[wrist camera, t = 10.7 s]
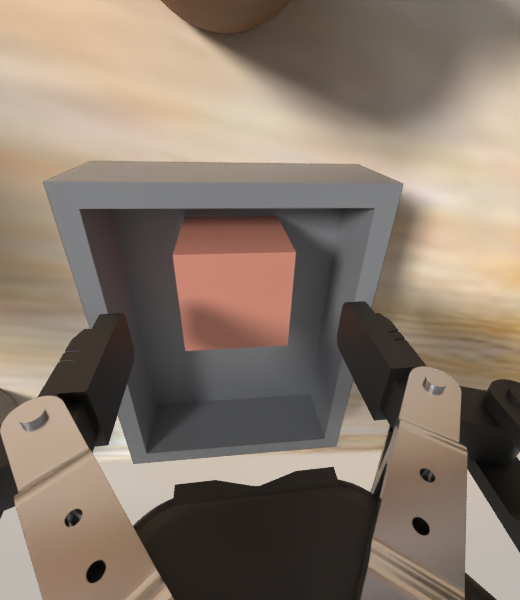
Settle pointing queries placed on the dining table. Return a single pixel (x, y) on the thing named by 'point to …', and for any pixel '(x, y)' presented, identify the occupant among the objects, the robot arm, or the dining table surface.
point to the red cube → (234, 282)
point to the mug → (226, 13)
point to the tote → (165, 304)
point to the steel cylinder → (6, 405)
